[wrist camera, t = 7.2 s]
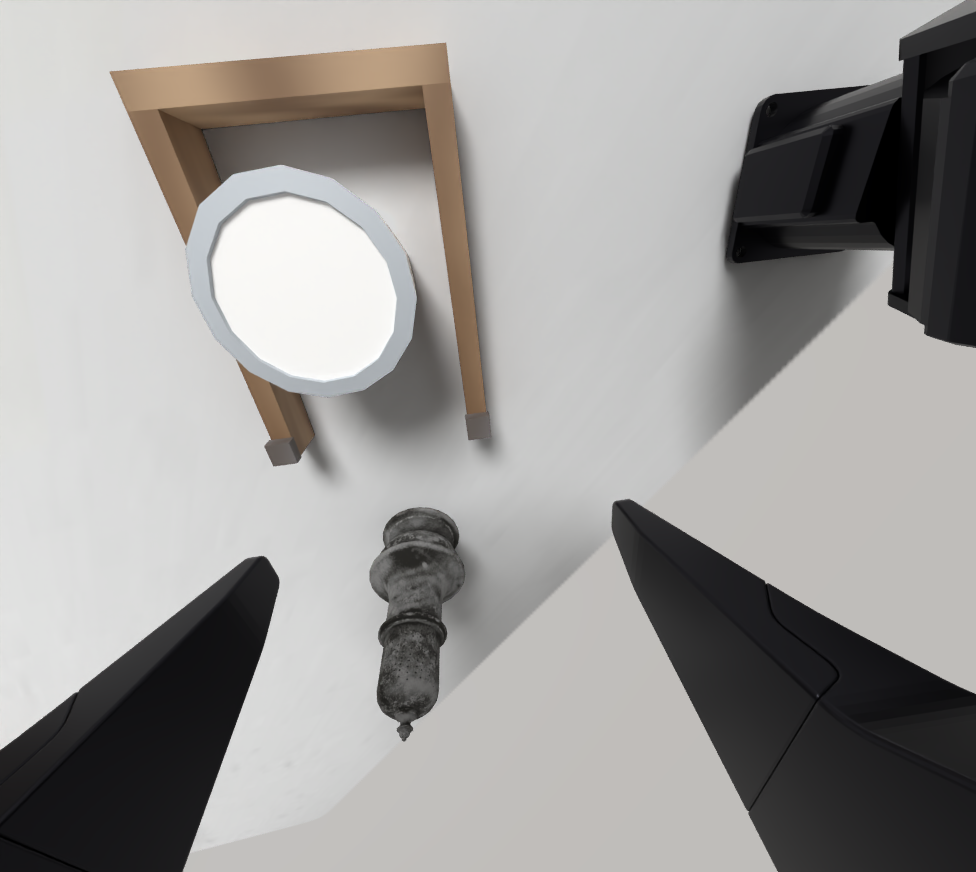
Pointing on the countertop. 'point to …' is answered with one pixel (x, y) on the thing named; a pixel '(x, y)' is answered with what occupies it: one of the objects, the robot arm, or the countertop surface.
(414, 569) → the salt shaker
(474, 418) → the wooden stand
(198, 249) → the white tapered cup
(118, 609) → the countertop surface
